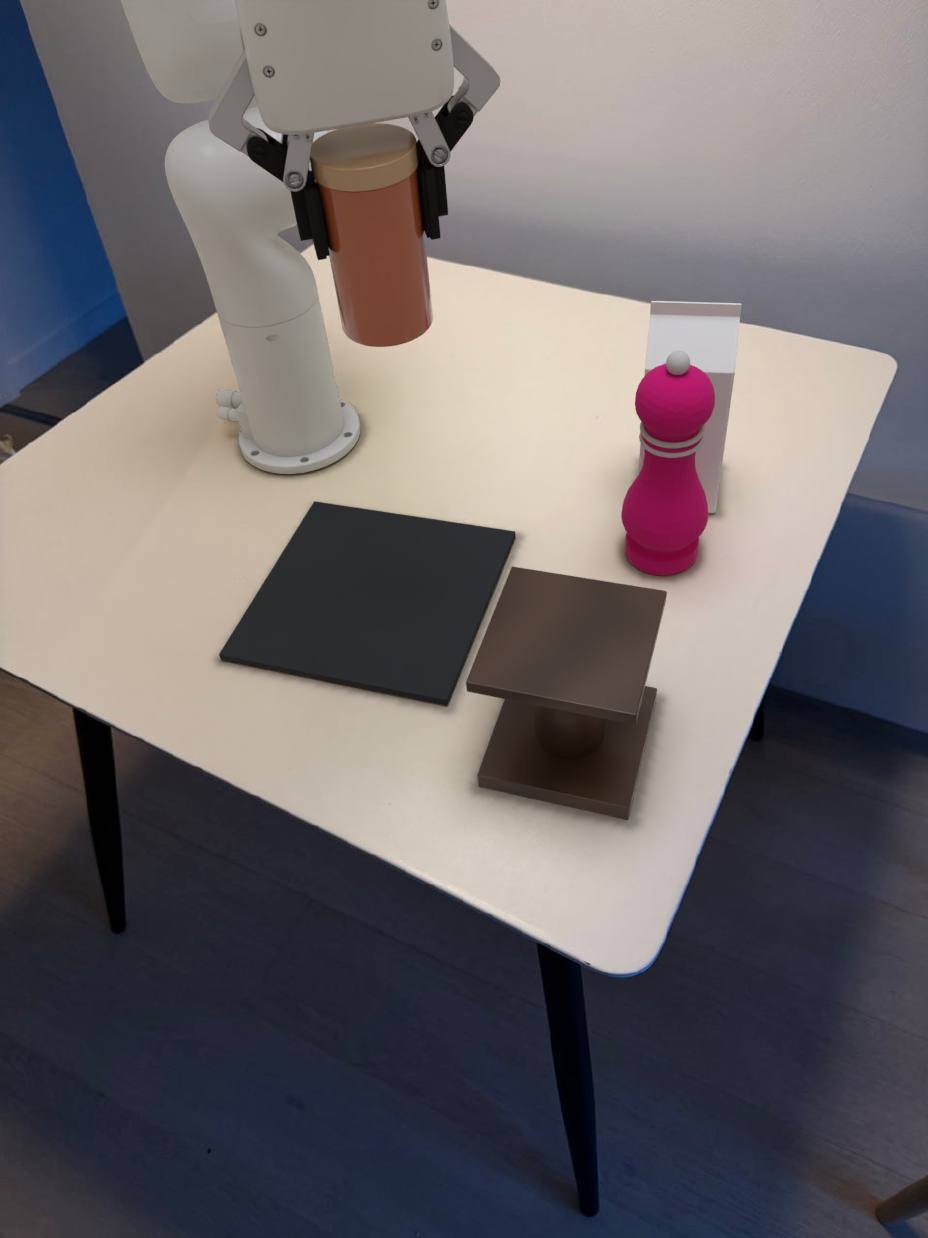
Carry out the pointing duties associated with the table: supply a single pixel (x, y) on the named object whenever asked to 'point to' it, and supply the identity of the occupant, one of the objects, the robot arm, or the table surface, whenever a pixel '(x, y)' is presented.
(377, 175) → the spice jar
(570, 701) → the stand
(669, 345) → the milk carton
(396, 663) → the mat
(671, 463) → the pepper mill
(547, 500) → the table surface
